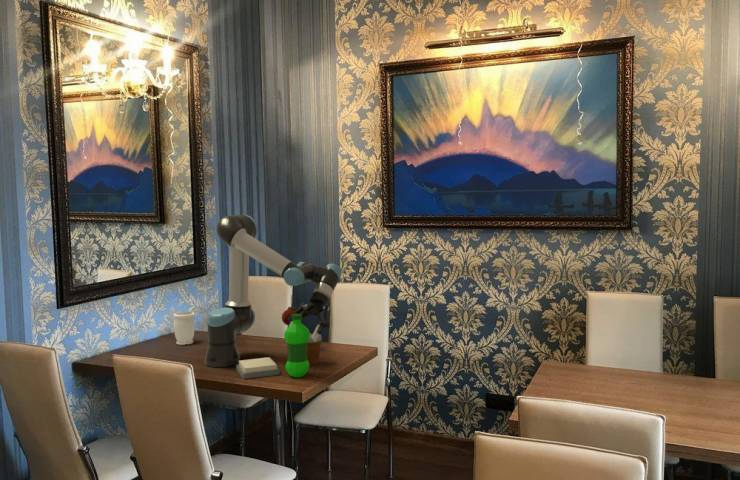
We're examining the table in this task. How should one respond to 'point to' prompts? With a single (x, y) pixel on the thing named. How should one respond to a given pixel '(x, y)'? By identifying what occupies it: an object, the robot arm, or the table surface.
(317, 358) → the disposable coffee cup
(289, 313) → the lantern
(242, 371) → the stepped plinth
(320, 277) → the robot arm
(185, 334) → the jar
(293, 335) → the plastic bottle
